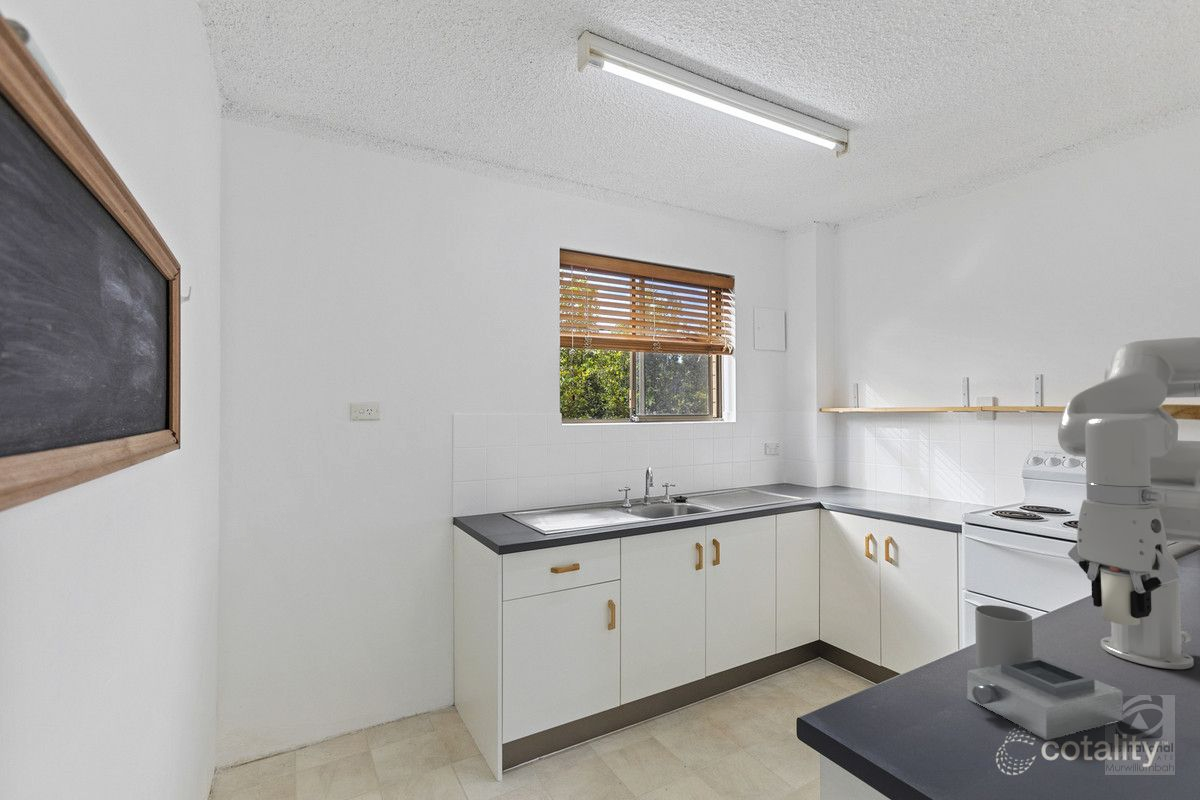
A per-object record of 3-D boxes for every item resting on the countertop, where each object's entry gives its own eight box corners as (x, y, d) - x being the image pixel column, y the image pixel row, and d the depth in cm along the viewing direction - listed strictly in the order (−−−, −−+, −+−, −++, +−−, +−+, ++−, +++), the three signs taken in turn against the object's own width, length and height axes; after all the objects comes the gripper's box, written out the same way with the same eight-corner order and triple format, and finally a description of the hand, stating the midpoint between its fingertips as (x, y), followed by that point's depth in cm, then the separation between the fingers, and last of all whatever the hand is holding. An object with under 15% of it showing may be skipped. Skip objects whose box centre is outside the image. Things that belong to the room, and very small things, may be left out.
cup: (1043, 682, 97) (1042, 623, 97) (989, 678, 98) (988, 619, 99) (1017, 661, 105) (1016, 606, 105) (968, 657, 107) (967, 603, 107)
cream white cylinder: (1113, 612, 93) (1111, 558, 93) (1147, 622, 88) (1145, 565, 88) (1094, 616, 91) (1093, 562, 91) (1128, 627, 87) (1126, 569, 87)
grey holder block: (1039, 684, 96) (1038, 650, 96) (1123, 721, 85) (1122, 682, 85) (956, 701, 90) (955, 665, 90) (1034, 743, 79) (1033, 701, 79)
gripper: (1203, 501, 83) (1206, 627, 83) (1075, 486, 99) (1078, 591, 99) (1170, 506, 81) (1173, 635, 81) (1044, 489, 97) (1047, 596, 97)
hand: (1120, 609), depth 90 cm, fingers closed on cream white cylinder, 4 cm apart
